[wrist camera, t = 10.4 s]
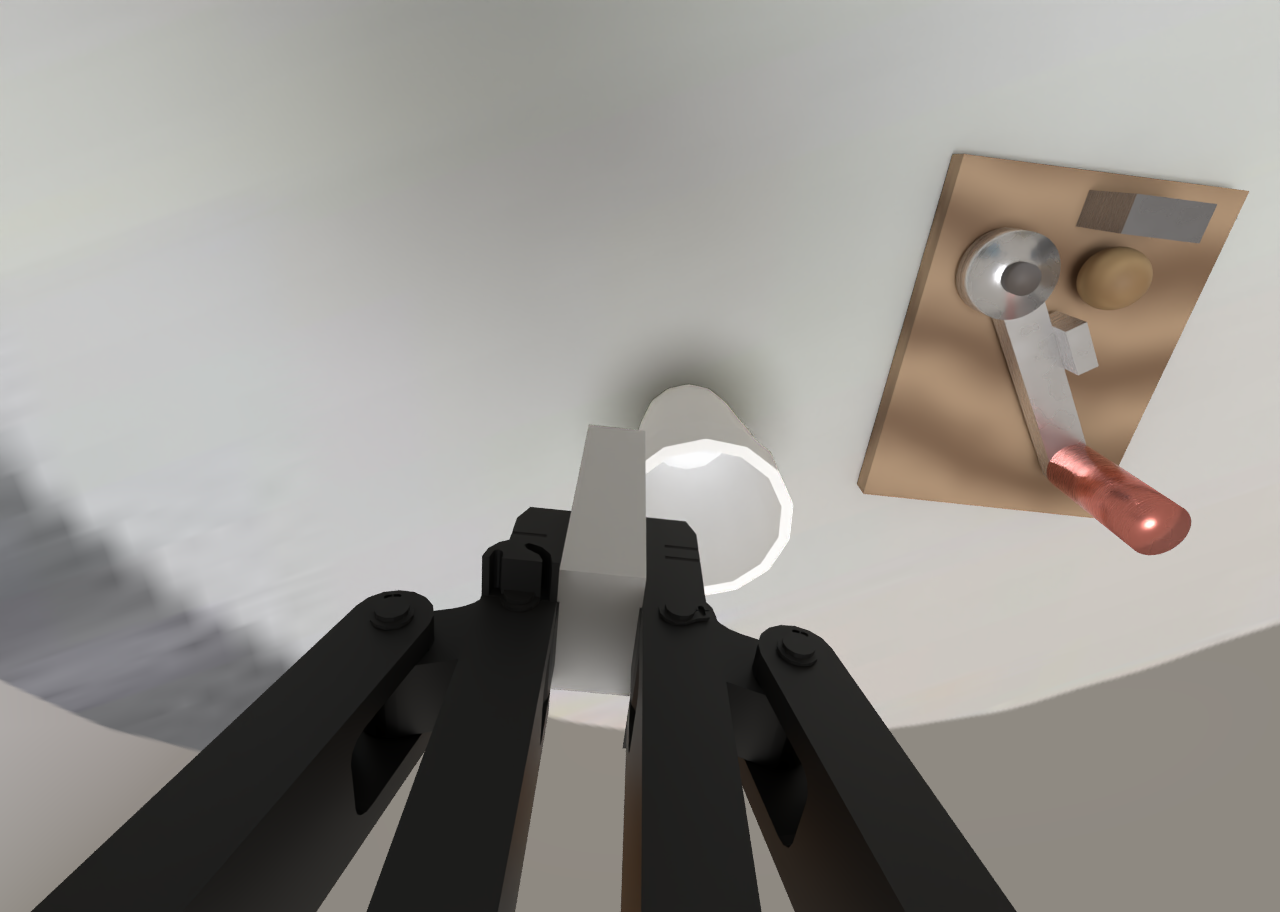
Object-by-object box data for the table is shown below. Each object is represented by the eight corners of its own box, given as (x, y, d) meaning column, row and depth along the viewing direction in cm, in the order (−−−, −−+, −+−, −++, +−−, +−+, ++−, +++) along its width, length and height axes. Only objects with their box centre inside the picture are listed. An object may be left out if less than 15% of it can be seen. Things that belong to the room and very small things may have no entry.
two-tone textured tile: (1089, 190, 37) (1137, 193, 34) (1161, 199, 38) (1217, 204, 34) (1075, 226, 38) (1120, 233, 35) (1146, 235, 38) (1199, 243, 35)
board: (952, 154, 38) (992, 153, 34) (1228, 189, 39) (1302, 194, 34) (856, 484, 47) (878, 517, 43) (1080, 507, 48) (1124, 543, 44)
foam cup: (657, 339, 43) (663, 409, 31) (778, 396, 44) (827, 483, 33) (599, 456, 46) (584, 558, 35) (712, 505, 48) (735, 618, 36)
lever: (945, 254, 39) (1035, 283, 30) (1028, 211, 38) (1148, 228, 29) (1025, 488, 45) (1119, 570, 36) (1098, 457, 44) (1212, 533, 35)
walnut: (1077, 239, 38) (1117, 247, 35) (1135, 246, 39) (1180, 255, 35) (1054, 299, 40) (1090, 312, 37) (1109, 306, 40) (1151, 319, 37)
